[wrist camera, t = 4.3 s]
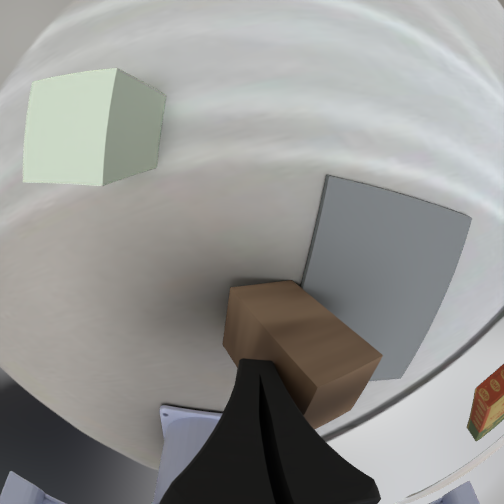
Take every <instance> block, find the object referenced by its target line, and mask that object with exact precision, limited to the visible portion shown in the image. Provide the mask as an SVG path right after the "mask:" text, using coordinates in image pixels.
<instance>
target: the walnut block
mask: <svg viewBox="0 0 504 504" xmlns="http://www.w3.org/2000/svg"><path fill="white" fill-rule="evenodd" d="M223 346H224V348H225V349H226V351H227V352H228V354H229V355H230V357H231V358H232V360H233V362H234V363H235V365H236V366H237V368H238V364H239V360H240V359H242V358H246V359H257V360H270V361H273V363H274V365H275V367H276V369H277V371H278V374H279V376H280V378H281V380H282V382H283V384H284V385H285V387H286V389H287V391H288V393H289V394H290V396H291V398H292V399H293V401H294V403H295V404H296V406H297V407H298V409H299V410H300V412H301V413H302V414H303V416H304V417H305V419H306V420H307V421H308V423H309V424H310V425H311V426H312V427H313V429H316V428H318V427H320V426H322V425H324V424H326V423H328V422H330V421H332V420H334V419H335V418H337V417H339V416H341V415H343V414H344V413H346V412H348V411H350V410H351V409H352V407H353V406H354V404H355V403H356V401H357V399H358V398H359V396H360V395H361V393H362V391H363V390H364V388H365V387H366V385H367V383H368V382H369V380H370V378H371V376H372V375H373V373H374V371H375V369H376V368H377V366H378V364H379V362H380V360H381V358H382V357H383V355H382V354H381V353H380V352H379V351H377V350H376V349H375V348H374V347H372V346H371V345H370V344H369V343H368V342H366V341H365V340H364V339H363V338H362V337H360V336H359V335H358V334H357V333H355V332H354V331H353V330H352V329H351V328H349V327H348V326H347V325H346V324H345V323H343V322H342V321H341V320H340V319H338V318H337V317H336V316H335V315H334V314H332V313H331V312H330V311H329V310H327V309H326V308H325V307H324V306H323V305H321V304H320V303H319V302H318V301H317V300H315V299H314V298H313V297H312V296H310V295H309V294H308V293H307V292H306V291H304V290H303V289H302V288H301V287H299V286H298V285H297V284H296V283H295V282H293V281H292V280H288V281H280V282H272V283H264V284H255V285H247V286H238V287H230V293H229V301H228V308H227V315H226V322H225V330H224V337H223Z"/></svg>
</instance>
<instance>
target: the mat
mask: <svg viewBox="0 0 504 504" xmlns="http://www.w3.org/2000/svg"><path fill="white" fill-rule="evenodd" d="M471 220H472V218H471V217H469V216H467V215H464V214H461V213H459V212H456V211H453V210H450V209H447V208H444V207H441V206H438V205H435V204H432V203H429V202H426V201H423V200H420V199H417V198H413V197H410V196H407V195H403V194H400V193H397V192H393V191H389V190H386V189H382V188H379V187H375V186H371V185H367V184H363V183H359V182H355V181H351V180H347V179H343V178H338V177H334V176H329V175H326V180H325V185H324V189H323V194H322V199H321V204H320V208H319V213H318V217H317V222H316V226H315V230H314V235H313V239H312V243H311V247H310V251H309V255H308V259H307V263H306V267H305V271H304V275H303V279H302V283H301V288H302V289H303V290H304V291H306V292H307V293H308V294H309V295H310V296H312V297H313V298H314V299H315V300H317V301H318V302H319V303H320V304H321V305H323V306H324V307H325V308H326V309H327V310H329V311H330V312H331V313H332V314H334V315H335V316H336V317H337V318H338V319H340V320H341V321H342V322H343V323H345V324H346V325H347V326H348V327H349V328H351V329H352V330H353V331H354V332H355V333H357V334H358V335H359V336H360V337H362V338H363V339H364V340H365V341H366V342H368V343H369V344H370V345H371V346H372V347H374V348H375V349H376V350H377V351H379V352H380V353H381V354H382V355H383V357H382V358H381V360H380V362H379V364H378V366H377V368H376V369H375V371H374V373H373V375H372V376H371V378H370V380H369V381H377V380H389V379H400V378H401V377H402V376H403V374H404V373H405V371H406V369H407V368H408V366H409V364H410V363H411V361H412V359H413V358H414V356H415V354H416V352H417V351H418V349H419V347H420V345H421V343H422V342H423V340H424V338H425V336H426V334H427V332H428V330H429V328H430V326H431V324H432V322H433V320H434V318H435V316H436V314H437V312H438V310H439V308H440V305H441V303H442V301H443V299H444V296H445V294H446V292H447V289H448V287H449V285H450V282H451V280H452V277H453V275H454V272H455V269H456V267H457V264H458V261H459V258H460V256H461V253H462V250H463V247H464V244H465V241H466V237H467V234H468V231H469V227H470V224H471Z"/></svg>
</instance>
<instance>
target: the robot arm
mask: <svg viewBox="0 0 504 504" xmlns="http://www.w3.org/2000/svg"><path fill="white" fill-rule="evenodd" d="M160 417H161V424H162V430H163V436H164V445H163V450H162V455H161V461H160V466H159V472H158V478H157V483H156V490H155V496H154V502H151V504H377V503H378V502H379V501H380V500H381V497H380V494H379V491H378V488H377V485H376V484H375V481H374V479H372V478H371V477H369V476H368V475H366V474H364V473H363V472H361V471H360V470H358V469H357V468H355V467H354V466H353V465H351V464H350V463H349V462H347V461H346V460H345V459H344V458H342V457H341V456H340V455H339V454H338V453H337V452H336V451H335V450H334V449H332V448H331V447H330V446H329V445H328V444H327V443H326V442H325V441H324V440H323V439H322V438H321V437H320V436H319V434H318V433H317V432H316V431H315V430H314V429H313V427H312V426H311V425H310V424H309V423H308V421H307V420H306V419H305V417H304V416H303V414H302V413H301V412H300V410H299V409H298V407H297V406H296V404H295V403H294V401H293V399H292V398H291V396H290V394H289V393H288V391H287V389H286V387H285V385H284V384H283V382H282V380H281V378H280V376H279V374H278V371H277V369H276V367H275V365H274V363H273V361H270V360H257V359H246V358H242V359H240V360H239V364H238V370H237V375H236V381H235V386H234V388H233V391H232V394H231V397H230V399H229V401H228V403H227V405H226V408H225V410H224V412H223V413H213V412H205V411H198V410H191V409H184V408H178V407H172V406H167V405H162V406H160ZM0 504H65V503H63V502H61V501H59V500H57V499H55V498H53V497H51V496H49V495H47V494H45V493H44V492H43V491H42V490H41V489H39V488H38V487H37V486H35V485H33V484H32V483H30V482H28V481H27V480H25V479H23V478H22V477H20V476H19V475H17V474H15V473H14V472H12V471H10V473H9V475H8V477H7V480H6V483H5V486H4V488H3V490H2V493H1V496H0ZM429 504H479V501H478V499H477V496H476V494H475V492H474V489H473V487H472V485H471V483H470V481H468V482H466V483H464V484H462V485H460V486H459V487H457V488H455V489H453V490H452V491H450V492H448V493H447V494H445V495H444V496H443V497H442V498H440V499H438V500H436V501H433V502H431V503H429Z"/></svg>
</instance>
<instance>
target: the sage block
mask: <svg viewBox="0 0 504 504" xmlns="http://www.w3.org/2000/svg"><path fill="white" fill-rule="evenodd" d="M165 101H166V95H164V94H163V93H161V92H159V91H158V90H156V89H154V88H153V87H151V86H149V85H147V84H146V83H144V82H142V81H140V80H139V79H137V78H135V77H133V76H131V75H129V74H128V73H126V72H124V71H122V70H120V69H118V68H111V69H101V70H92V71H85V72H78V73H72V74H66V75H61V76H56V77H51V78H46V79H42V80H38V81H34V82H32V86H31V91H30V97H29V103H28V110H27V117H26V126H25V137H24V151H23V182H34V183H61V184H80V185H96V186H104V185H106V184H109V183H112V182H115V181H118V180H121V179H123V178H126V177H129V176H132V175H135V174H138V173H142V172H145V171H148V170H151V169H154V168H157V160H158V151H159V142H160V134H161V127H162V120H163V114H164V107H165Z"/></svg>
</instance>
